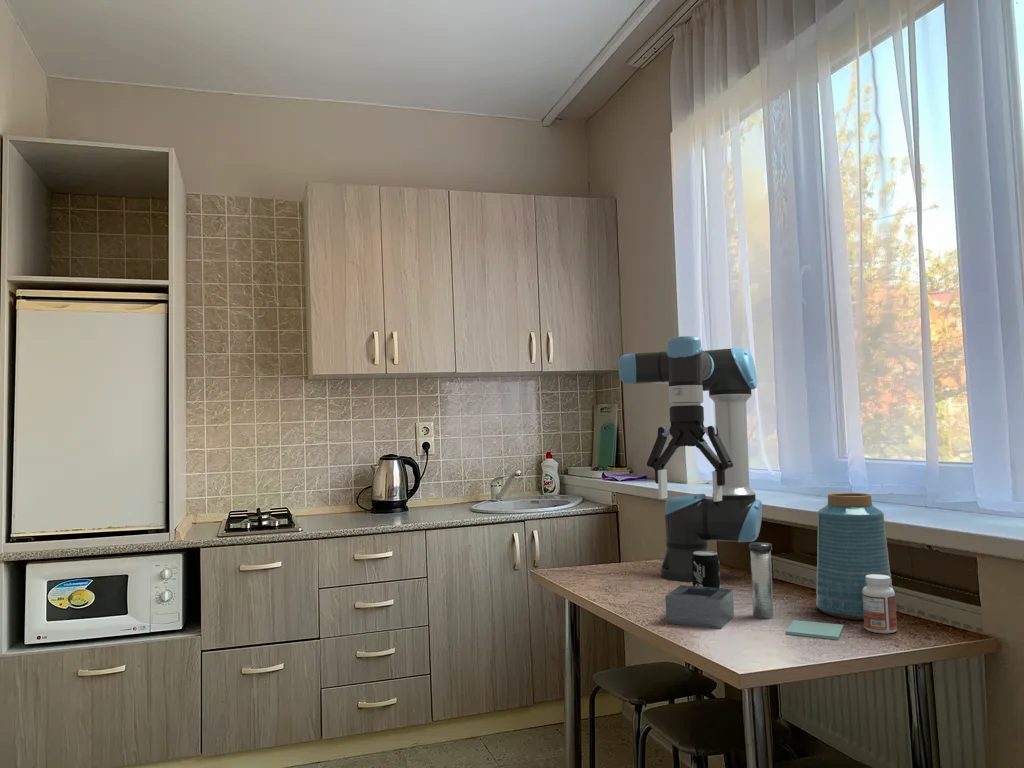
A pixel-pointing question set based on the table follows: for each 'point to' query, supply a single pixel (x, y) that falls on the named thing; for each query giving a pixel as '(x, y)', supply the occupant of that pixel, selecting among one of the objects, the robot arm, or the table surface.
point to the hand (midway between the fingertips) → (689, 499)
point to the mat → (815, 629)
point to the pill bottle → (879, 605)
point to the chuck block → (700, 606)
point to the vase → (849, 553)
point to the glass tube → (761, 580)
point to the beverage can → (705, 569)
